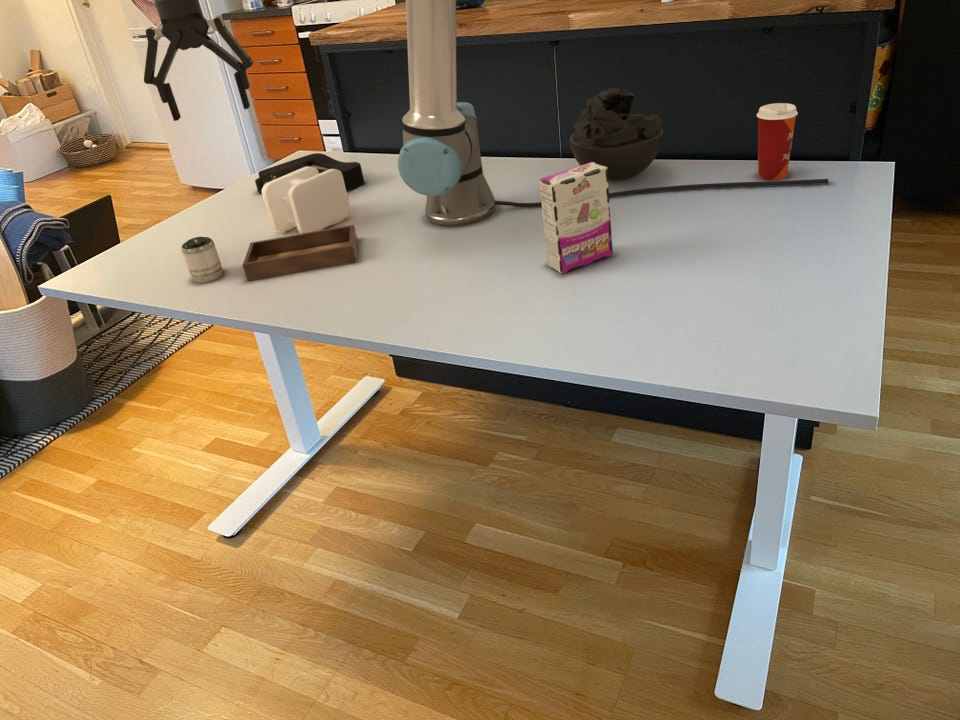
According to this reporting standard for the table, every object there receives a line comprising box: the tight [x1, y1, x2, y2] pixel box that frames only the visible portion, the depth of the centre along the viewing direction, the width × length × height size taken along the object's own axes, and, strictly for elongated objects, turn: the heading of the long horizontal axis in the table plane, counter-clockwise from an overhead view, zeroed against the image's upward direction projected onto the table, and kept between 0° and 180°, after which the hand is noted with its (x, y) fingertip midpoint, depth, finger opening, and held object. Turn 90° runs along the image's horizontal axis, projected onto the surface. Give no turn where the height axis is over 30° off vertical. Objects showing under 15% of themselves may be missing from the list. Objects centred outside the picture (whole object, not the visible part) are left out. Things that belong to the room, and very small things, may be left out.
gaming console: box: [254, 152, 365, 195], centre depth 189 cm, size 27×20×7 cm
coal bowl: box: [569, 87, 664, 182], centre depth 162 cm, size 20×20×19 cm
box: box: [242, 224, 358, 282], centre depth 150 cm, size 22×12×4 cm, turn 97°
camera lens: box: [180, 236, 223, 284], centre depth 149 cm, size 6×6×8 cm
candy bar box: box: [538, 162, 613, 275], centre depth 129 cm, size 11×5×16 cm, turn 117°
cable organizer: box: [261, 167, 351, 234], centre depth 164 cm, size 15×11×12 cm
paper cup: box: [756, 102, 799, 181], centre depth 152 cm, size 8×8×14 cm
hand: (212, 113), depth 145 cm, fingers open, 13 cm apart
